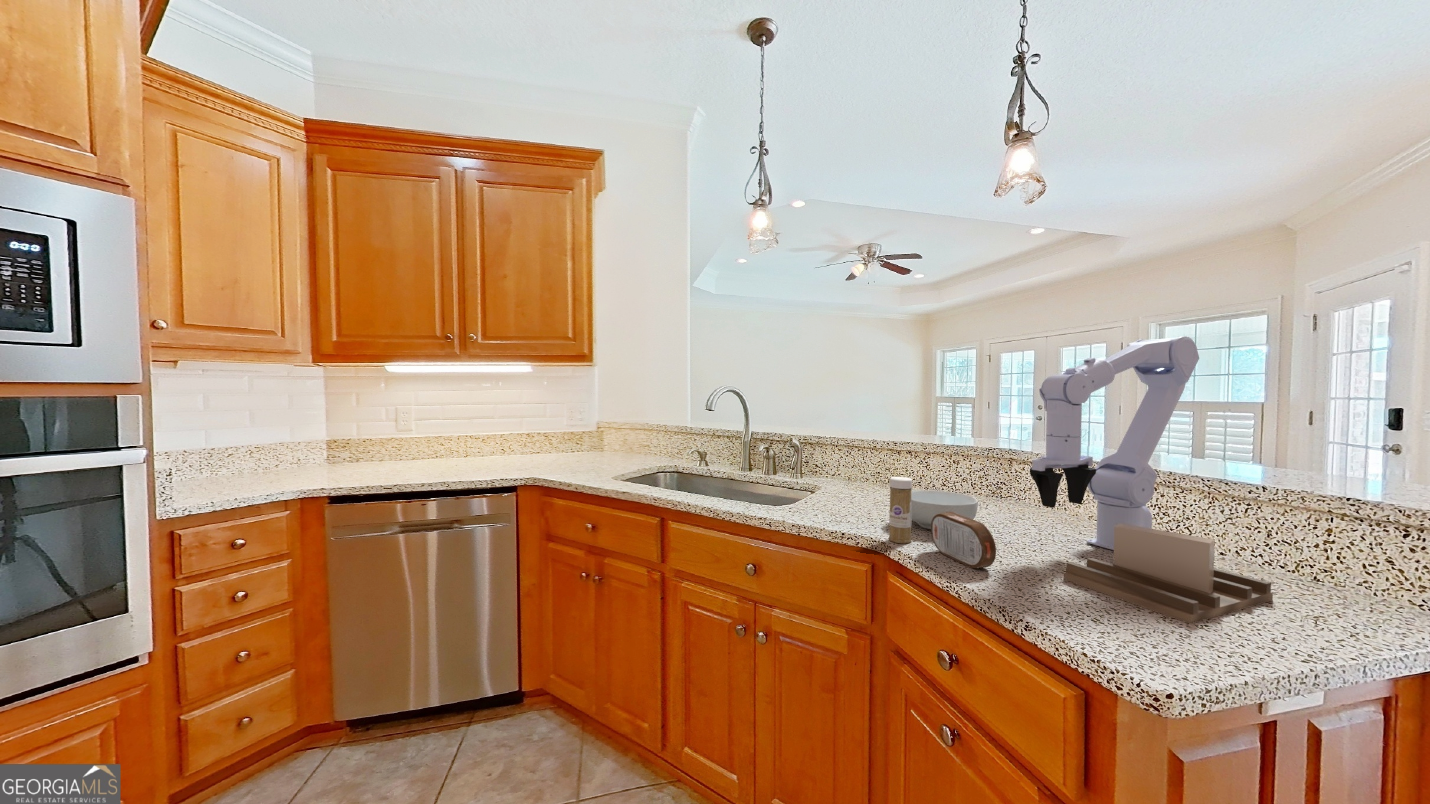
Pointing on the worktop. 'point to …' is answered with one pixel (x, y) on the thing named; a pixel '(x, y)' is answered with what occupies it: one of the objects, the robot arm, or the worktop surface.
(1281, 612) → the worktop surface
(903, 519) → the sprinkles bottle
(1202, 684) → the worktop surface
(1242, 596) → the rack
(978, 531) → the tin
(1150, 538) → the beige rectangular board
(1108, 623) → the worktop surface
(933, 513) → the cereal bowl
